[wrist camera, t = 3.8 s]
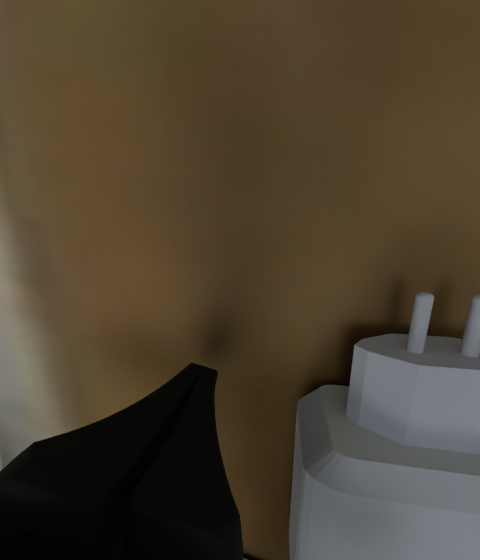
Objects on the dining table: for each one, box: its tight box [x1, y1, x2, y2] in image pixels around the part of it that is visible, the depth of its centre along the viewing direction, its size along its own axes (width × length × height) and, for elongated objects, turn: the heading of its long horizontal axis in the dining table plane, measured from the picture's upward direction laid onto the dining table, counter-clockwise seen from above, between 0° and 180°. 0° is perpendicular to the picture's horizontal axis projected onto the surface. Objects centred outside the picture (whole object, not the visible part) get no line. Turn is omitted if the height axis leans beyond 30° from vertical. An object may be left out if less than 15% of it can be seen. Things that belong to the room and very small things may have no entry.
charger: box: [289, 292, 480, 560], centre depth 10 cm, size 5×9×15 cm
